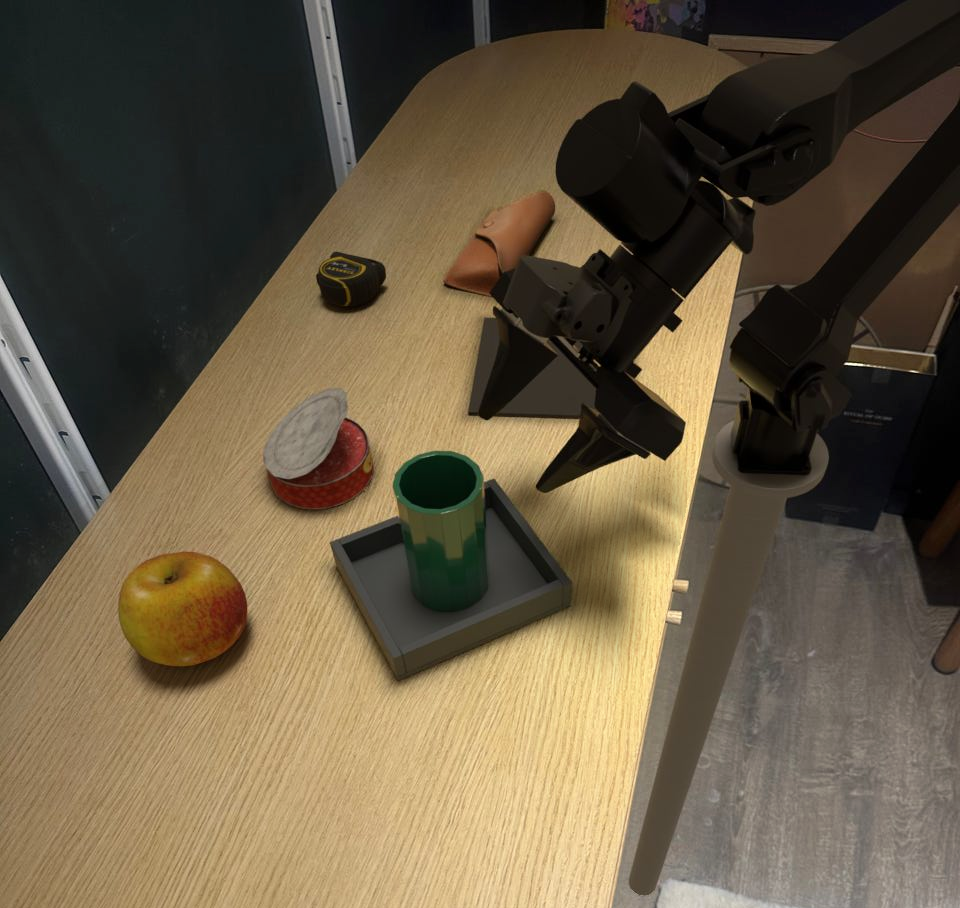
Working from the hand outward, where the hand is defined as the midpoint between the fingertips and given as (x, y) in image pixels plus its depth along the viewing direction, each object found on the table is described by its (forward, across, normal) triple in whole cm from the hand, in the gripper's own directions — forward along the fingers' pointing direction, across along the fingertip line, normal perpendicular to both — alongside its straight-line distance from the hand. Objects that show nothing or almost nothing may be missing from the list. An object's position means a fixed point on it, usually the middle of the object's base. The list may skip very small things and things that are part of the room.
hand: (509, 452), depth 64 cm
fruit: (+28, -5, -10) cm, 30 cm away
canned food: (+16, -18, +1) cm, 25 cm away
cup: (+13, 0, +4) cm, 13 cm away
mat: (-3, -22, +20) cm, 30 cm away
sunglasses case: (-7, -44, +24) cm, 50 cm away
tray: (+13, 0, +4) cm, 13 cm away
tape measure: (+6, -45, +11) cm, 47 cm away
